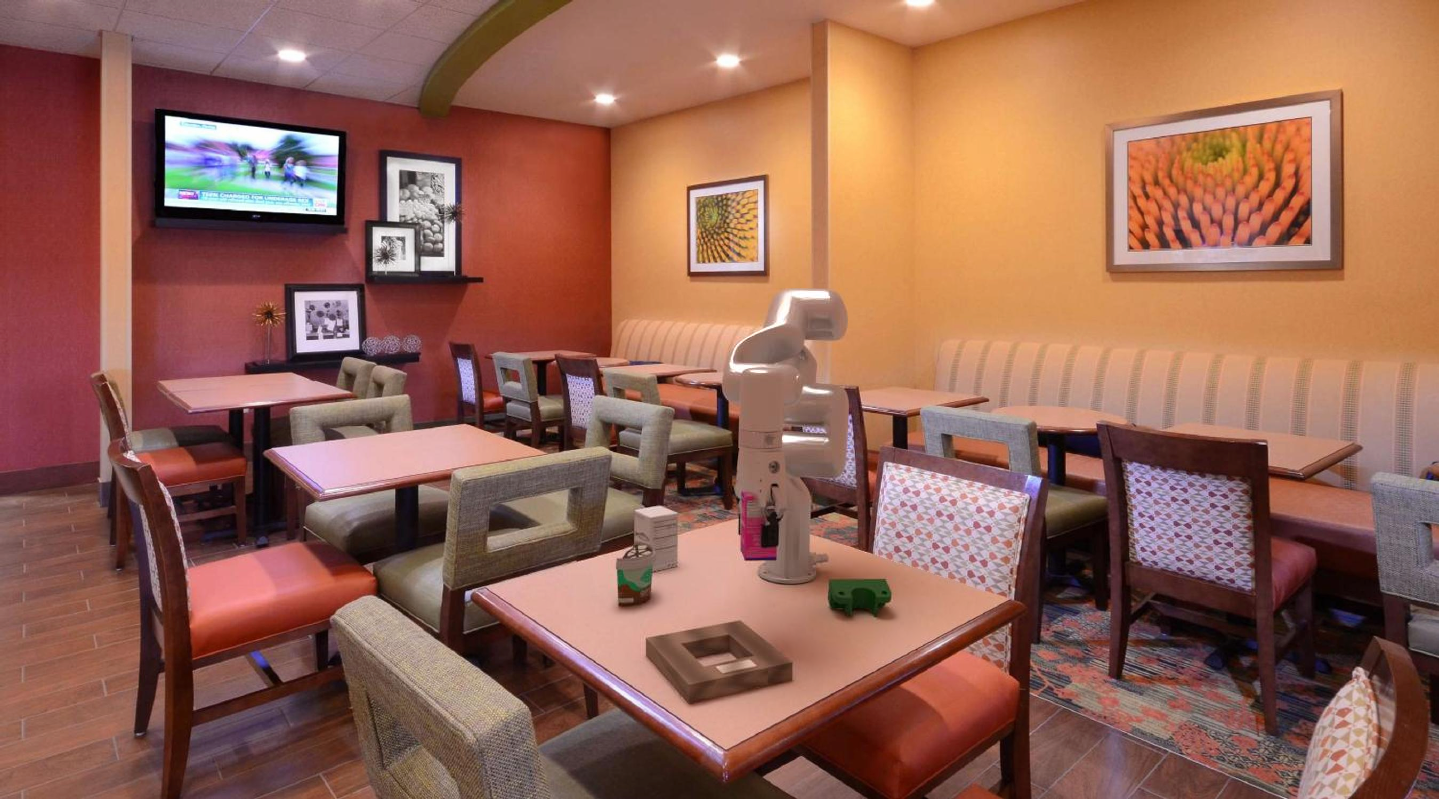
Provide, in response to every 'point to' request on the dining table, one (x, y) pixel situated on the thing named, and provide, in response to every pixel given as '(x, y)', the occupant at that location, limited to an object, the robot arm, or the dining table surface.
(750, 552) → the supplement box
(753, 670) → the hole board
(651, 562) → the food container
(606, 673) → the dining table surface
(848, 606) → the clamp
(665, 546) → the supplement box
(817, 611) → the dining table surface
